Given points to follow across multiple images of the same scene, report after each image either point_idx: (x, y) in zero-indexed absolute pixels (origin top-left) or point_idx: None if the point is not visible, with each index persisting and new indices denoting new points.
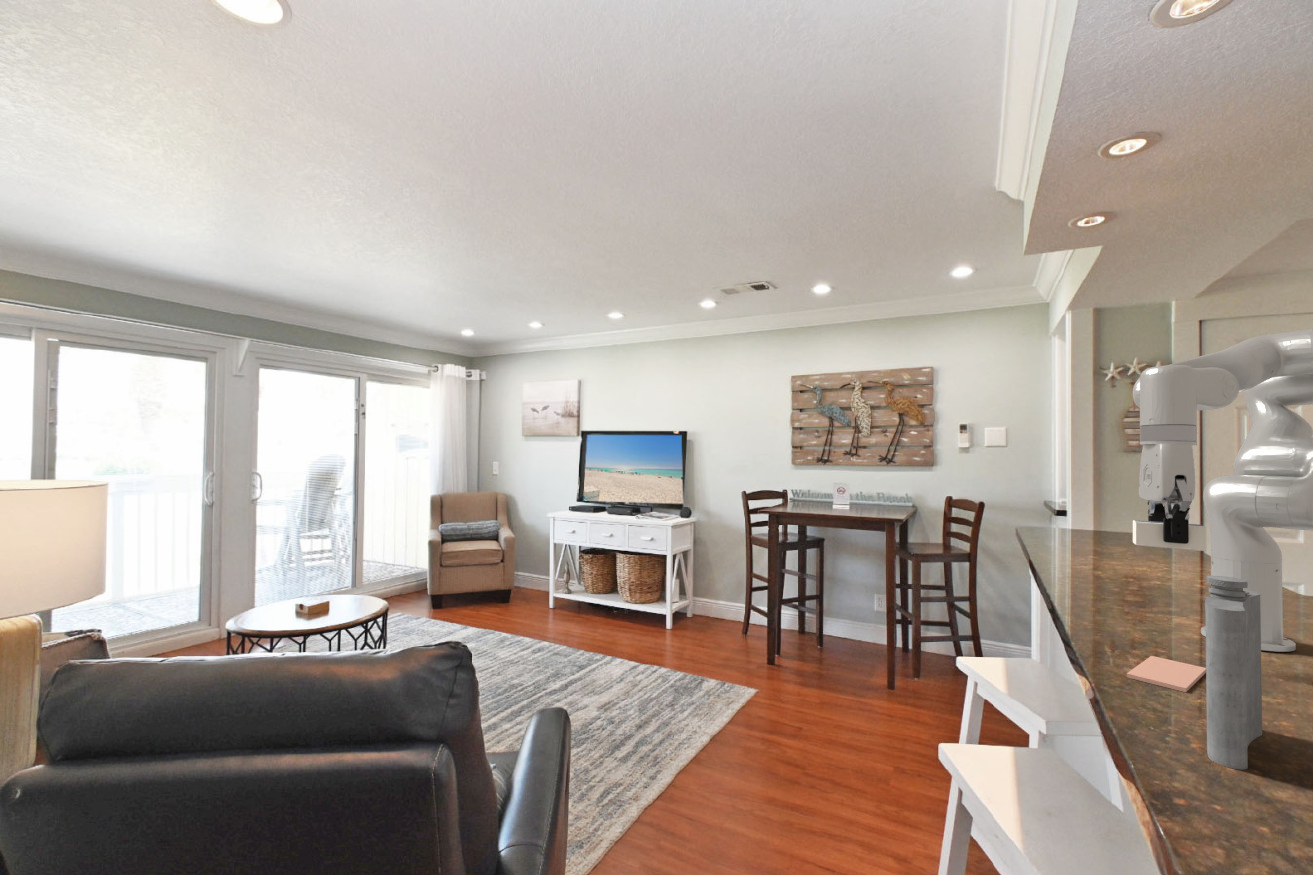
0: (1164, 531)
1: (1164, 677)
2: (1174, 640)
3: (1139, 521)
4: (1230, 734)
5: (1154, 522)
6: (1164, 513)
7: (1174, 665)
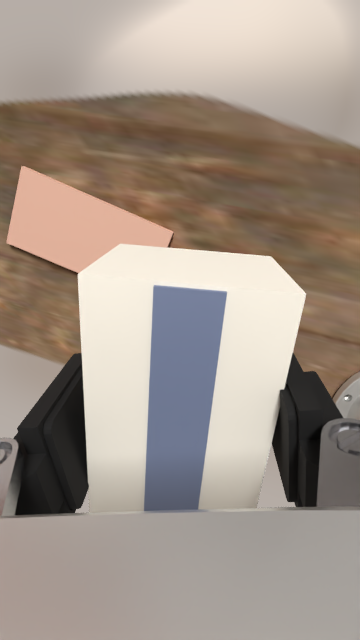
0: (56, 378)
1: (43, 224)
2: (345, 303)
3: (150, 307)
4: None
5: (149, 383)
6: (305, 504)
7: None
